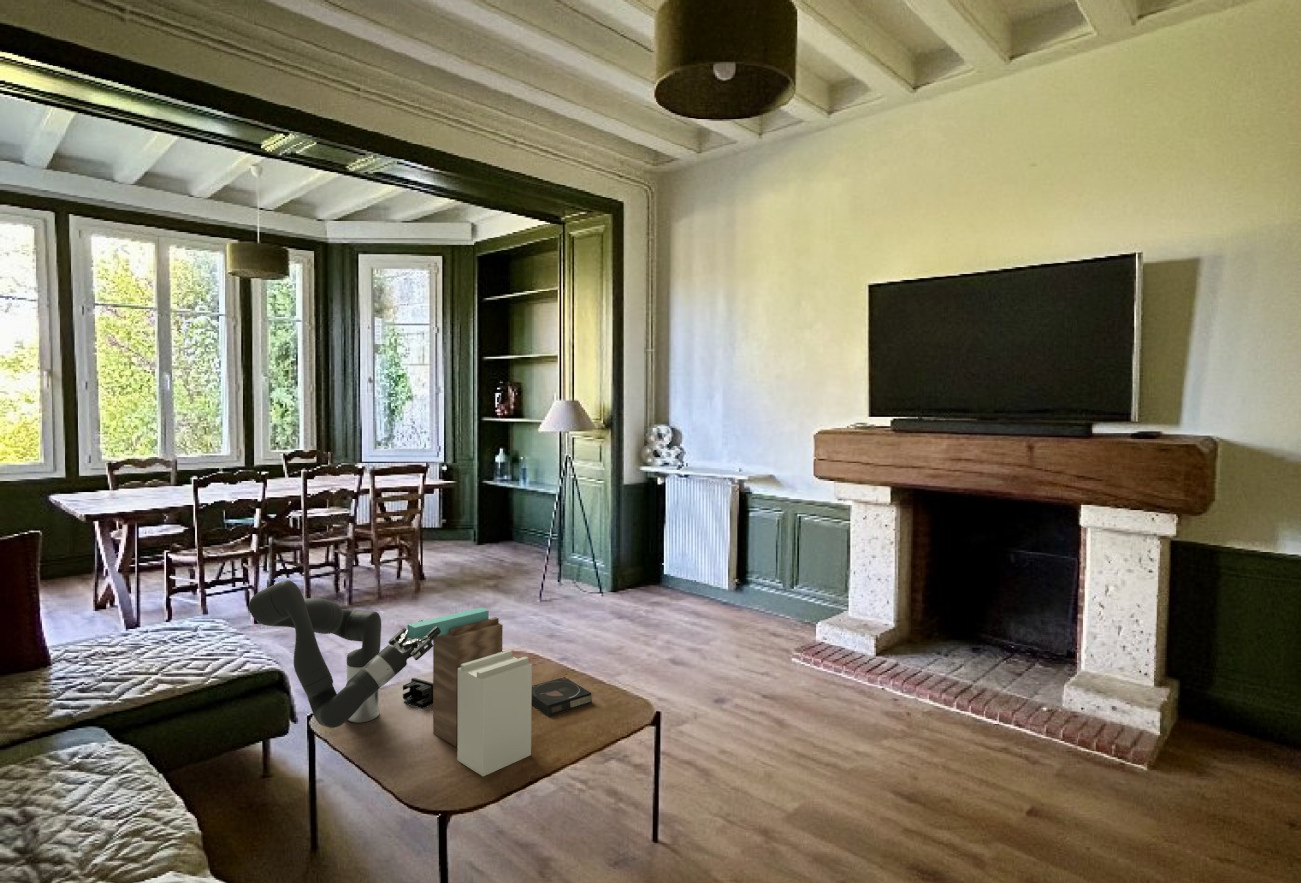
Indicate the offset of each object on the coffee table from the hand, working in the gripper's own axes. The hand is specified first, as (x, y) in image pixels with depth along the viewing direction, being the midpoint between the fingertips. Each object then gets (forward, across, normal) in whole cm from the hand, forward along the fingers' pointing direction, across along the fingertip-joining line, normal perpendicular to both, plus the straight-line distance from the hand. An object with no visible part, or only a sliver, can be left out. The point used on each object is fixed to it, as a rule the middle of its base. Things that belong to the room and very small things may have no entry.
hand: (431, 625), depth 206 cm
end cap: (-6, +28, +37) cm, 47 cm away
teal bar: (+4, 0, +6) cm, 7 cm away
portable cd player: (+21, -3, +53) cm, 57 cm away
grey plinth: (-10, -19, +34) cm, 41 cm away
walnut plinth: (-7, 0, +36) cm, 37 cm away
